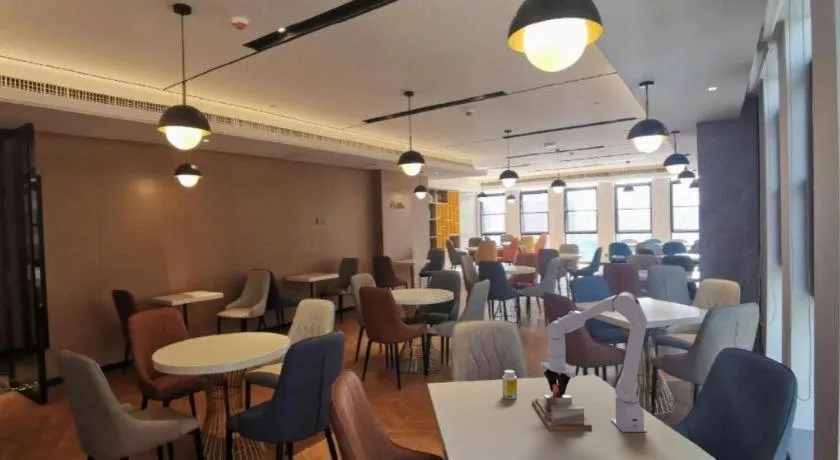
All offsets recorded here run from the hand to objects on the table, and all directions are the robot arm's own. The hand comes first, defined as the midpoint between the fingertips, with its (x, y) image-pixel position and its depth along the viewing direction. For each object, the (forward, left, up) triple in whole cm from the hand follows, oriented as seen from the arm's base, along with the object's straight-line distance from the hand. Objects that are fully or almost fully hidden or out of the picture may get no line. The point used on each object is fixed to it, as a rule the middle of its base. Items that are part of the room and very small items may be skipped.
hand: (557, 392), depth 168 cm
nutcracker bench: (-2, 0, -7) cm, 8 cm away
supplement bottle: (+17, +14, -8) cm, 23 cm away
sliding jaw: (0, 0, -6) cm, 6 cm away
